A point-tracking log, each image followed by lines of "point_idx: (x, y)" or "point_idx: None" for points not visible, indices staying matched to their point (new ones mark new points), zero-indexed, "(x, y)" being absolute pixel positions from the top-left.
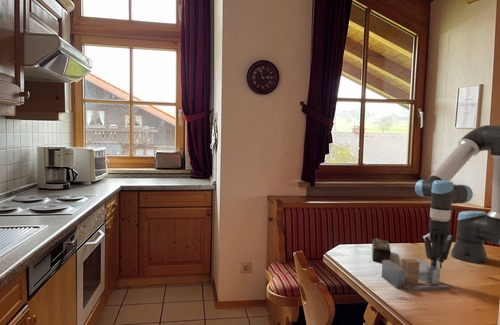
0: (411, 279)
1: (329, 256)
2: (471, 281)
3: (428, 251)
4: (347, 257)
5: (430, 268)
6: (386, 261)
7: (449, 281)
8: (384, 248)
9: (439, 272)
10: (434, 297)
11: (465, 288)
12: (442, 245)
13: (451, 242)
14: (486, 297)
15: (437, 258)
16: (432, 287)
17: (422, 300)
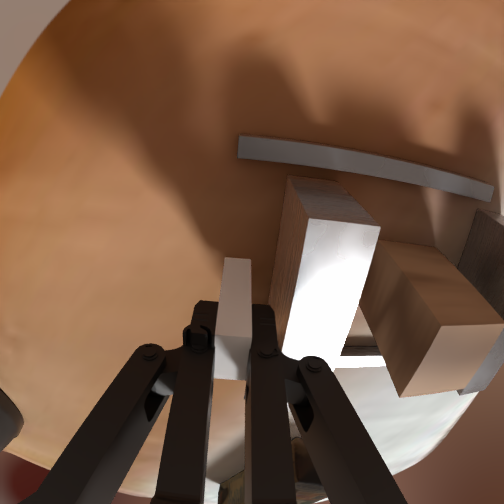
0: (425, 258)
1: (431, 451)
2: (29, 230)
3: (357, 431)
4: (393, 455)
5: (367, 266)
6: (488, 377)
7: (143, 247)
8: (308, 490)
9: (309, 211)
10: (422, 68)
11: (115, 140)
12: (179, 494)
13: (42, 494)
14: (93, 16)
15: (213, 379)
16: (368, 153)
17: (492, 72)
